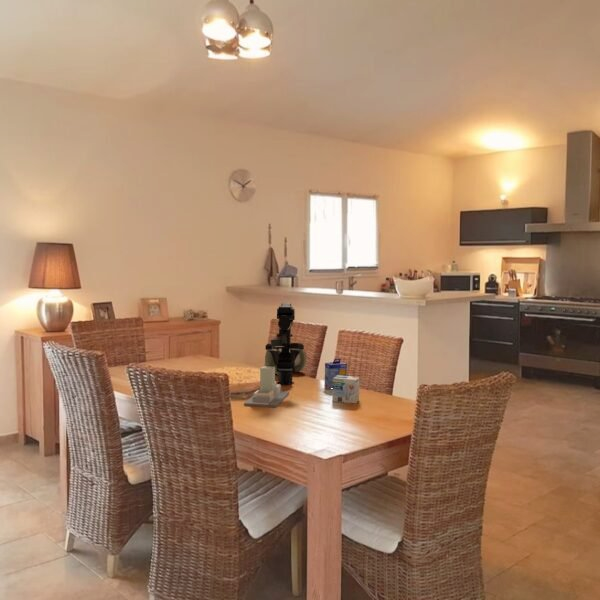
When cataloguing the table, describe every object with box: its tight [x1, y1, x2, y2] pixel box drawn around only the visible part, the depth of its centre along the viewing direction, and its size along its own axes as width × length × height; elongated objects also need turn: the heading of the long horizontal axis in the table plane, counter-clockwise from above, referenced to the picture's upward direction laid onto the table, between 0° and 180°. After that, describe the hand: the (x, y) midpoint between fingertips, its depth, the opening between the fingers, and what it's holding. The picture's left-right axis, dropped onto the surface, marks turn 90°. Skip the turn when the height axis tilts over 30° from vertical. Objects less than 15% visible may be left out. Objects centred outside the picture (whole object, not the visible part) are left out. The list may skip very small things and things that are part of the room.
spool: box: [264, 349, 307, 376], centre depth 341 cm, size 16×15×15 cm
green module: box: [259, 365, 276, 397], centre depth 281 cm, size 5×6×13 cm
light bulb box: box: [331, 375, 361, 404], centre depth 279 cm, size 11×7×11 cm, turn 68°
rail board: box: [243, 383, 290, 408], centre depth 281 cm, size 26×14×5 cm, turn 169°
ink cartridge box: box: [324, 358, 348, 390], centre depth 306 cm, size 10×6×14 cm, turn 115°
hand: (283, 365), depth 296 cm, fingers open, 9 cm apart
